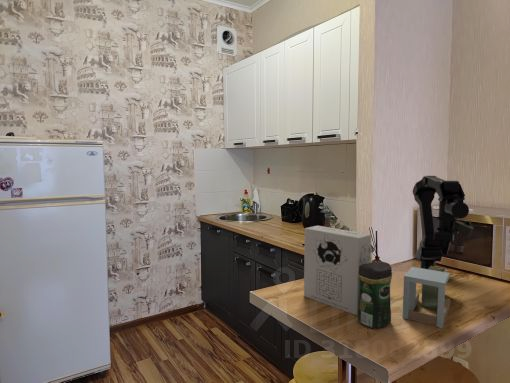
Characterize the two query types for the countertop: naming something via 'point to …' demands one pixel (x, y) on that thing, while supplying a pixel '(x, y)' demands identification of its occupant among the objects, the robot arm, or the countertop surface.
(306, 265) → the cereal box
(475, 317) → the countertop surface
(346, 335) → the countertop surface
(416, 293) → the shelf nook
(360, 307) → the coffee jar
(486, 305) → the countertop surface
